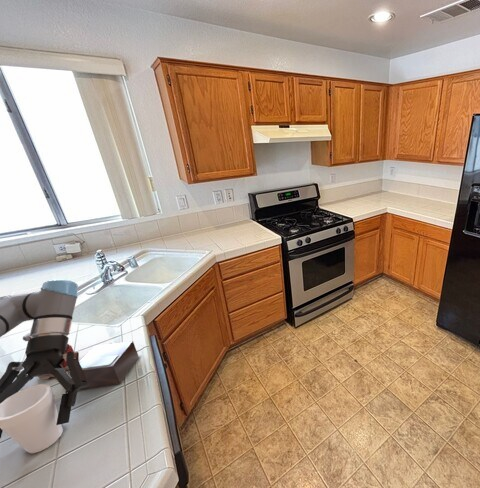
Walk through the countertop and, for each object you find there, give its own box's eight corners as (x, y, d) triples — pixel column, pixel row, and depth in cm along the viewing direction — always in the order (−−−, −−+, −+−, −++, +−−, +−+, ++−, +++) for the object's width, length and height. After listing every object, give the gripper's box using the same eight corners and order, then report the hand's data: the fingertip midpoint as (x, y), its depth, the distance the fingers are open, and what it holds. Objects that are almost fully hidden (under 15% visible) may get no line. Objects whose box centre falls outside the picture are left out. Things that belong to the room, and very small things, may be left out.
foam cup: (29, 431, 67) (6, 393, 63) (76, 414, 71) (56, 378, 66) (8, 469, 59) (-20, 428, 54) (62, 447, 63) (39, 408, 58)
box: (77, 390, 78) (68, 371, 76) (101, 362, 89) (93, 345, 86) (120, 383, 80) (112, 365, 77) (139, 357, 90) (132, 340, 88)
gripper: (111, 330, 75) (99, 415, 67) (6, 348, 70) (-21, 443, 62) (93, 326, 69) (78, 420, 60) (-23, 345, 64) (-59, 451, 55)
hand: (28, 431), depth 61 cm, fingers open, 13 cm apart
